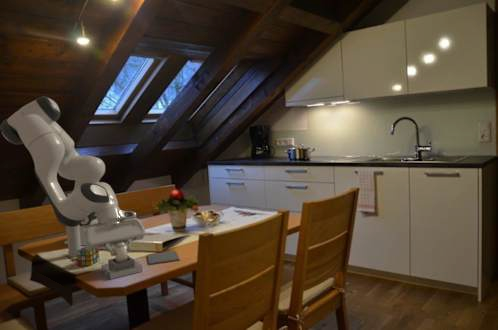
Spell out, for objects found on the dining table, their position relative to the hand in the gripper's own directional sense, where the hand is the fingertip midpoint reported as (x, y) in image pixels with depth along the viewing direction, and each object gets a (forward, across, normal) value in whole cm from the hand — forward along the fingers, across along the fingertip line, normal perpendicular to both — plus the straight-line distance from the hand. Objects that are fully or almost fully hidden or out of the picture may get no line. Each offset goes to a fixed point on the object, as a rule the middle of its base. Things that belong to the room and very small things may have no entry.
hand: (121, 253), depth 141 cm
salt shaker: (+2, 0, +3) cm, 4 cm away
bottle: (-18, -9, +28) cm, 34 cm away
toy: (-8, -7, +18) cm, 21 cm away
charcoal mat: (+2, +16, +7) cm, 18 cm away
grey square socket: (+4, 0, +5) cm, 6 cm away
